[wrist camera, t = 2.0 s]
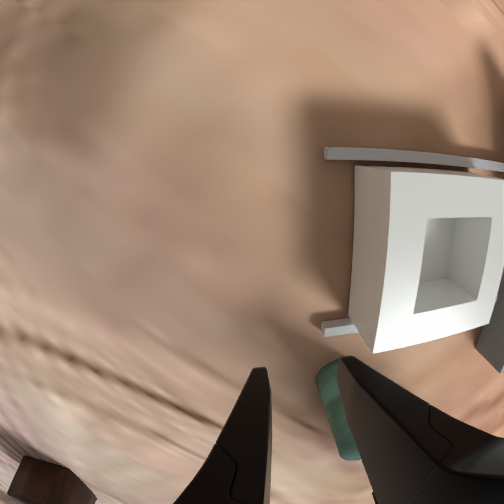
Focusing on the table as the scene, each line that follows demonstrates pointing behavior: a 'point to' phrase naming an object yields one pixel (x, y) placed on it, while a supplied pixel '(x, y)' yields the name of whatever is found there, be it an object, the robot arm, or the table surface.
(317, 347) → the table surface
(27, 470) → the black box with stems
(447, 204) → the socket block
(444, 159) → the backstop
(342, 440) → the dowel
